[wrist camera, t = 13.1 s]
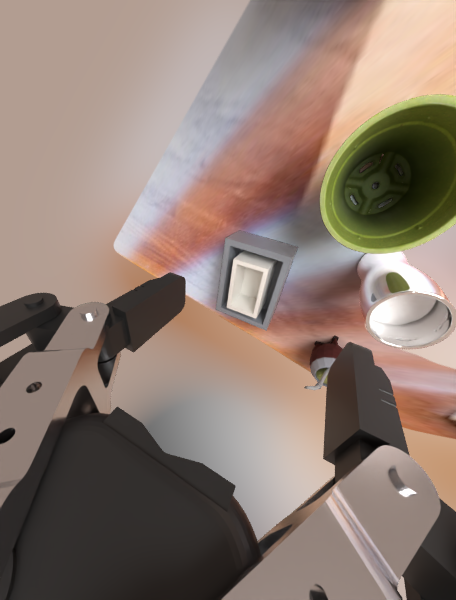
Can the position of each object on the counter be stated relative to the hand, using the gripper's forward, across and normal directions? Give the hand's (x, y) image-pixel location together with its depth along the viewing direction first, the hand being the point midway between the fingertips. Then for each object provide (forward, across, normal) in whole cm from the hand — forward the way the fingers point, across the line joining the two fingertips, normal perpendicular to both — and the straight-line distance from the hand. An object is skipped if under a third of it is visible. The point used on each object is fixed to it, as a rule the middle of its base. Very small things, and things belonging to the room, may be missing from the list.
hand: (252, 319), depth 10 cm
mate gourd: (+28, -12, +22) cm, 38 cm away
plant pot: (+28, -6, -6) cm, 30 cm away
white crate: (+27, +6, +12) cm, 30 cm away
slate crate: (+28, +6, +12) cm, 31 cm away
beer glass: (+28, -12, +4) cm, 31 cm away
